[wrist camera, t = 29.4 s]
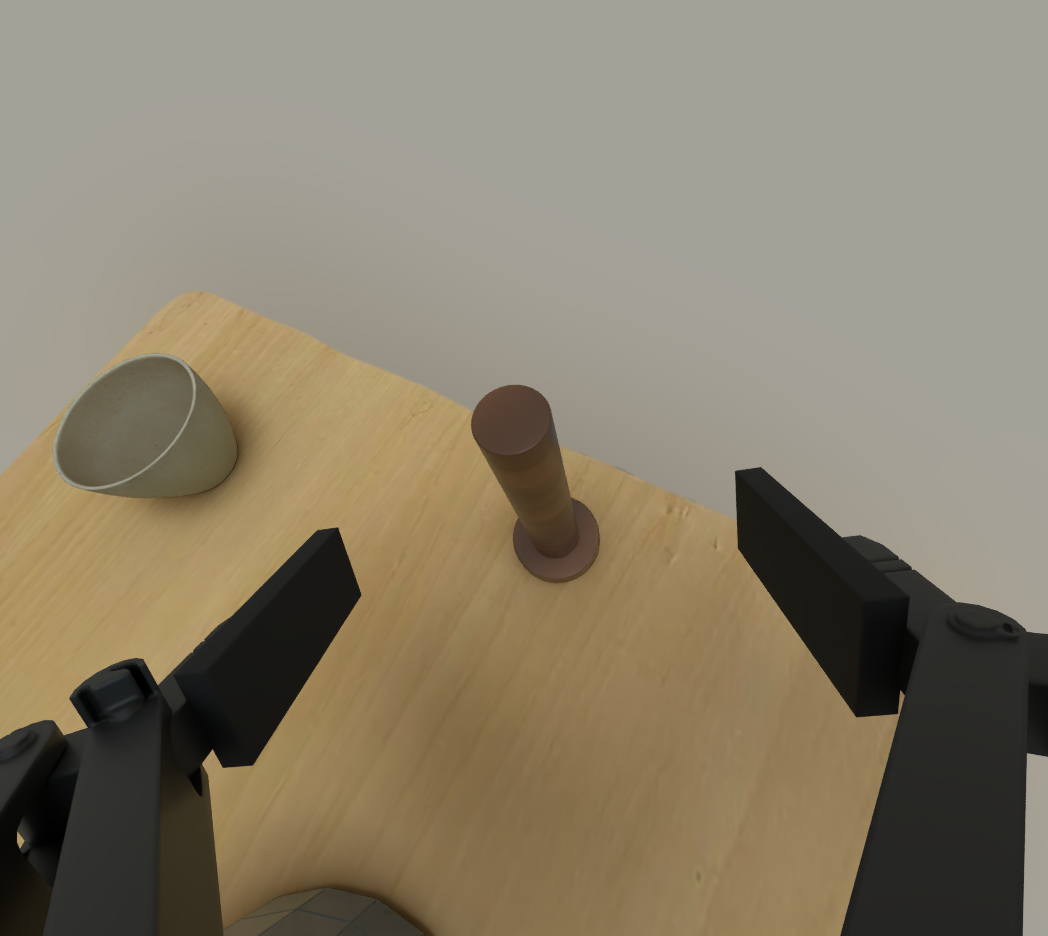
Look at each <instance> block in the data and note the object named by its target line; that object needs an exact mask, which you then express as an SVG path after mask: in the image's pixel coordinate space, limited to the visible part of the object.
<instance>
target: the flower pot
mask: <svg viewBox="0 0 1048 936" xmlns="http://www.w3.org/2000/svg"><path fill="white" fill-rule="evenodd" d="M237 453H238V450H237V444H236V439H235V436H234V432H233V429H232V426H231V424H230V422H229V419H228V417H227V415H226V413H225V411H224V409H223V408H222V406H221V404H220V403H219V401H218V399H217V398H216V396H215V395H214V394H213V392H212V391H211V390H210V388H209V387H208V386H207V385H206V383H205V382H204V381H203V380H202V379H201V378H200V376H199V375H198V374H197V373H196V372H195V371H194V370H193V369H192V368H191V367H189V366H188V365H187V364H186V363H185V362H184V361H183V360H181V359H180V358H178V357H175V356H172V355H169V354H164V353H151V354H145V355H140V356H136V357H133V358H130V359H127V360H125V361H123V362H121V363H119V364H117V365H115V366H113V367H111V368H110V369H108V370H106V371H105V372H103V373H102V374H101V375H99V376H98V377H97V378H96V379H94V380H93V381H92V382H91V383H90V384H89V385H88V386H87V387H86V388H85V389H84V390H83V391H82V392H81V393H80V394H79V395H78V396H77V397H76V399H75V400H74V401H73V402H72V404H71V405H70V407H69V408H68V410H67V411H66V413H65V415H64V417H63V419H62V420H61V423H60V425H59V427H58V430H57V433H56V436H55V441H54V447H53V461H54V465H55V468H56V470H57V472H58V474H59V475H60V477H61V478H62V479H63V480H64V481H65V482H67V483H68V484H70V485H71V486H74V487H76V488H79V489H83V490H87V491H92V492H97V493H102V494H107V495H114V496H122V497H133V498H167V497H178V496H185V495H191V494H196V493H200V492H204V491H207V490H210V489H212V488H214V487H215V486H217V485H218V484H220V483H221V482H222V481H223V480H224V479H225V478H226V477H227V476H228V475H229V473H230V472H231V471H232V469H233V467H234V465H235V463H236V460H237Z"/></svg>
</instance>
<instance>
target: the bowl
mask: <svg viewBox="0 0 1048 936" xmlns="http://www.w3.org/2000/svg"><path fill="white" fill-rule="evenodd" d="M223 936H425V935H423V933H422V932H421V931H420V930H418V929H417V928H416V927H414V926H413V925H412V924H410V923H409V922H408V921H406V920H405V919H404V918H402V917H401V916H400V915H398V914H397V913H396V912H394V911H393V910H392V909H390V908H389V907H388V906H386V905H385V904H384V903H382V902H381V901H380V900H377V899H375V898H371V897H367V896H362V895H358V894H354V893H350V892H346V891H341V890H337V889H333V888H321V889H316V890H311V891H306V892H301V893H296V894H290V895H285V896H280V897H277V898H274V899H273V900H271V901H270V902H268V903H266V904H265V905H263V906H262V907H260V908H258V909H257V910H255V911H254V912H252V913H250V914H249V915H247V916H246V917H244V918H242V919H241V920H239V921H238V922H236V923H234V924H233V925H231V926H230V927H228V928H226V929H225V930H223Z"/></svg>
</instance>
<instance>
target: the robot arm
mask: <svg viewBox="0 0 1048 936" xmlns="http://www.w3.org/2000/svg"><path fill="white" fill-rule="evenodd" d="M735 480H736V508H737V535H738V549H739V551H740V552H741V554H742V555H743V556H744V558H745V559H746V561H747V562H748V564H749V565H750V566H751V568H752V569H753V571H754V572H755V574H756V575H757V576H758V578H759V579H760V581H761V582H762V584H763V585H764V586H765V588H766V589H767V591H768V592H769V594H770V595H771V596H772V598H773V599H774V601H775V602H776V603H777V605H778V606H779V608H780V609H781V611H782V612H783V613H784V615H785V616H786V618H787V619H788V621H789V622H790V623H791V625H792V626H793V628H794V629H795V631H796V632H797V633H798V635H799V636H800V638H801V639H802V641H803V642H804V643H805V645H806V646H807V648H808V649H809V651H810V652H811V653H812V655H813V656H814V658H815V659H816V661H817V662H818V663H819V665H820V666H821V668H822V669H823V671H824V672H825V673H826V675H827V676H828V678H829V679H830V681H831V682H832V683H833V685H834V686H835V688H836V689H837V691H838V692H839V693H840V695H841V696H842V698H843V699H844V701H845V702H846V703H847V705H848V706H849V708H850V709H851V710H852V712H853V713H854V715H855V716H856V717H866V716H879V715H891V714H898V707H899V697H900V690H901V691H902V692H903V694H904V695H905V697H904V701H903V705H902V709H901V712H900V716H899V720H898V723H897V727H896V731H895V735H894V738H893V742H892V746H891V749H890V753H889V757H888V761H887V764H886V768H885V772H884V775H883V779H882V783H881V787H880V790H879V794H878V798H877V801H876V805H875V809H874V813H873V816H872V820H871V824H870V827H869V831H868V835H867V839H866V842H865V846H864V850H863V853H862V857H861V861H860V865H859V868H858V872H857V876H856V879H855V883H854V887H853V891H852V894H851V898H850V902H849V905H848V909H847V913H846V917H845V920H844V924H843V928H842V932H841V935H840V936H1023V895H1024V894H1023V893H1024V852H1025V809H1026V807H1025V806H1026V804H1025V803H1026V765H1027V753H1029V754H1035V755H1041V756H1047V757H1048V634H1040V633H1032V632H1026V630H1025V628H1023V627H1022V626H1021V625H1020V624H1018V622H1016V621H1015V620H1014V619H1012V618H1010V617H1008V616H1006V615H1004V614H1002V613H1000V612H998V611H996V610H993V609H989V608H986V607H983V606H980V605H974V604H967V603H960V602H958V603H957V602H955V601H954V600H953V599H952V598H950V597H949V596H948V595H946V594H945V593H944V592H943V591H941V590H940V589H939V588H937V587H936V586H935V585H934V584H932V583H931V582H930V581H928V580H927V579H926V578H925V577H923V576H922V575H921V574H920V573H918V572H917V571H916V570H912V568H911V566H909V565H908V564H907V563H905V562H904V561H903V560H901V559H900V560H899V558H898V556H897V555H895V554H894V553H893V552H891V551H890V550H889V549H888V548H886V547H885V546H884V545H882V544H880V543H877V542H875V541H873V540H870V539H868V538H866V537H863V536H860V535H859V536H850V537H843V538H842V537H841V536H839V535H838V534H837V533H836V532H835V531H834V530H833V529H831V528H830V527H829V526H828V525H827V524H826V523H824V522H823V521H822V520H821V519H820V518H819V517H818V516H816V515H815V514H814V513H813V512H812V511H811V510H810V509H808V508H807V507H806V506H805V505H804V504H803V503H801V502H800V501H799V500H798V499H797V498H796V497H794V496H793V495H792V494H791V493H790V492H789V491H787V490H786V489H785V488H784V487H783V486H782V485H781V484H780V483H778V482H777V481H776V480H775V479H774V478H773V477H772V476H770V475H769V474H768V473H767V472H766V471H765V470H764V469H762V468H761V467H759V468H752V469H745V470H738V471H735ZM360 597H361V592H360V589H359V586H358V583H357V580H356V578H355V575H354V572H353V569H352V566H351V563H350V560H349V558H348V555H347V552H346V549H345V546H344V543H343V540H342V538H341V535H340V532H339V529H338V527H337V528H330V529H323V530H317V531H316V532H315V533H314V534H313V535H312V536H311V537H310V538H309V539H308V540H307V541H306V542H305V543H304V544H303V545H302V546H301V547H300V548H299V549H298V550H297V551H296V552H295V553H294V554H293V555H292V556H291V557H290V558H289V559H288V560H287V561H286V562H285V563H284V564H283V565H282V566H281V567H280V568H279V569H278V570H277V571H276V572H275V573H274V574H273V575H272V576H271V577H270V578H269V579H268V580H267V581H266V582H265V583H264V584H263V585H262V586H261V587H260V588H259V589H258V590H257V591H256V592H255V593H254V594H253V595H252V596H251V597H250V599H249V600H248V601H247V602H246V603H245V604H244V605H243V606H242V607H241V608H240V609H239V610H238V611H237V612H236V613H235V614H234V615H233V616H231V617H230V618H229V619H227V620H226V621H224V622H223V623H221V624H220V625H218V626H217V627H216V628H215V629H214V630H213V631H212V632H211V633H210V634H209V635H208V636H207V637H206V638H205V641H204V642H201V643H200V644H199V645H198V646H197V647H196V648H195V649H194V650H193V651H194V652H193V653H190V654H189V655H188V656H187V657H186V658H185V659H184V660H183V661H182V662H181V663H180V664H179V665H178V666H177V667H176V668H175V669H174V670H173V671H172V672H171V673H170V674H169V675H168V676H167V677H166V678H165V679H164V680H163V681H162V682H161V683H160V684H159V685H157V683H156V681H155V680H154V678H153V676H152V674H151V672H150V671H149V669H148V667H147V665H146V663H145V662H144V660H143V659H138V658H134V659H128V660H124V661H121V662H119V663H116V664H113V665H111V666H109V667H107V668H105V669H103V670H101V671H99V672H97V673H96V674H94V675H93V676H91V677H90V678H88V679H87V680H85V681H84V682H83V683H82V684H81V685H80V686H79V687H77V688H76V689H75V690H74V692H73V693H72V695H71V696H70V698H69V699H70V701H71V702H72V704H73V705H74V707H75V708H76V710H77V711H78V713H79V714H80V716H81V718H82V719H83V721H84V722H85V724H86V725H87V727H88V728H86V729H83V730H79V731H76V732H73V733H70V734H67V735H63V734H62V732H61V731H60V729H59V728H58V726H57V725H56V723H55V722H54V721H53V720H44V721H40V722H37V723H33V724H31V725H28V726H26V727H24V728H20V729H17V730H15V731H14V732H12V733H10V735H6V736H5V737H3V738H2V739H0V936H223V925H222V915H221V905H220V894H219V884H218V874H217V863H216V853H215V842H214V832H213V822H212V811H211V801H210V791H209V780H208V774H207V773H206V771H205V769H204V767H203V765H202V763H203V761H204V760H205V759H206V757H207V756H208V755H209V753H210V752H211V751H212V749H213V750H214V752H215V754H216V756H217V758H218V760H219V761H220V763H221V765H222V767H223V768H227V767H240V766H252V765H254V763H255V761H256V760H257V758H258V757H259V755H260V754H261V752H262V750H263V749H264V747H265V746H266V744H267V743H268V741H269V739H270V738H271V736H272V735H273V733H274V732H275V730H276V728H277V727H278V725H279V724H280V722H281V721H282V719H283V717H284V716H285V714H286V713H287V711H288V710H289V708H290V706H291V705H292V703H293V702H294V700H295V699H296V697H297V695H298V694H299V692H300V691H301V689H302V688H303V686H304V684H305V683H306V681H307V680H308V678H309V677H310V675H311V674H312V672H313V670H314V669H315V667H316V666H317V664H318V663H319V661H320V659H321V658H322V656H323V655H324V653H325V652H326V650H327V648H328V647H329V645H330V644H331V642H332V641H333V639H334V637H335V636H336V634H337V633H338V631H339V630H340V628H341V626H342V625H343V623H344V622H345V620H346V619H347V617H348V615H349V614H350V612H351V611H352V609H353V608H354V606H355V604H356V603H357V601H358V600H359V598H360ZM17 832H18V833H19V834H20V835H21V837H22V838H23V839H24V840H25V841H24V843H23V845H22V847H21V848H19V846H18V844H17Z"/></svg>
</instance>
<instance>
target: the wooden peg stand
mask: <svg viewBox="0 0 1048 936" xmlns="http://www.w3.org/2000/svg"><path fill="white" fill-rule="evenodd" d="M471 429H472V434H473V436H474V439H475V440H476V442H477V444H478V446H479V448H480V449H481V451H482V453H483V455H484V457H485V458H486V460H487V462H488V464H489V465H490V467H491V469H492V471H493V473H494V474H495V476H496V478H497V480H498V482H499V483H500V485H501V487H502V489H503V490H504V492H505V494H506V496H507V498H508V499H509V501H510V503H511V505H512V507H513V508H514V510H515V512H516V514H517V515H518V517H519V518H518V520H517V522H516V524H515V528H514V533H513V543H514V548H515V552H516V554H517V556H518V558H519V560H520V561H521V563H522V564H523V565H524V567H525V568H526V569H527V570H528V571H529V572H530V573H531V574H532V575H534V576H535V577H537V578H539V579H541V580H544V581H548V582H554V583H559V582H567V581H570V580H573V579H575V578H577V577H579V576H581V575H582V574H583V573H585V572H586V571H587V570H588V569H589V568H590V567H591V565H592V564H593V562H594V560H595V559H596V556H597V554H598V550H599V542H600V541H599V530H598V525H597V522H596V520H595V518H594V516H593V514H592V513H591V511H590V510H589V509H588V508H587V507H586V506H585V505H584V504H582V503H581V502H579V501H577V500H575V499H573V498H571V497H570V492H569V488H568V483H567V479H566V475H565V470H564V466H563V461H562V457H561V453H560V448H559V444H558V439H557V435H556V431H555V426H554V422H553V418H552V413H551V409H550V406H549V404H548V402H547V400H546V399H545V398H544V397H543V396H542V394H540V393H539V392H538V391H536V390H534V389H532V388H530V387H527V386H522V385H508V386H503V387H500V388H498V389H495V390H493V391H492V392H490V393H489V394H487V395H486V396H485V397H484V398H483V399H482V400H481V401H480V402H479V403H478V405H477V406H476V409H475V410H474V413H473V416H472V420H471Z"/></svg>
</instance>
